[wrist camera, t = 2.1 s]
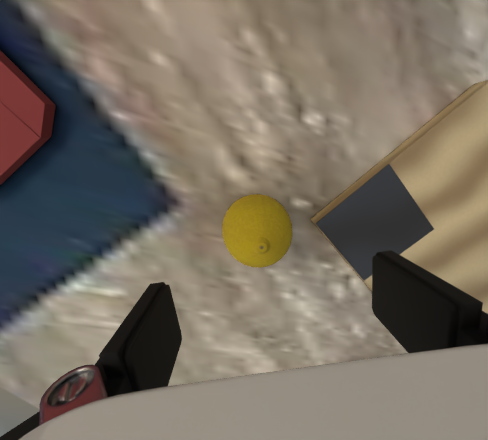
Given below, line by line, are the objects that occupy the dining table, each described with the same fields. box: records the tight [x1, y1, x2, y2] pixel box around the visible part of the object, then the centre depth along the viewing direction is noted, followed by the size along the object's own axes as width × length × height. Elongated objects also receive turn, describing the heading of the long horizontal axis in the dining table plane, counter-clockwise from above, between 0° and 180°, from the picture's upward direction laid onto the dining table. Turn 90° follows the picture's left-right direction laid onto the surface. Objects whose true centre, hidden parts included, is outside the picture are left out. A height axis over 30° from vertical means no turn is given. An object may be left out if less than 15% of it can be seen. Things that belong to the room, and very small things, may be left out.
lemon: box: [222, 194, 292, 267], centre depth 18 cm, size 6×6×8 cm
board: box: [311, 80, 488, 314], centre depth 23 cm, size 22×18×2 cm
